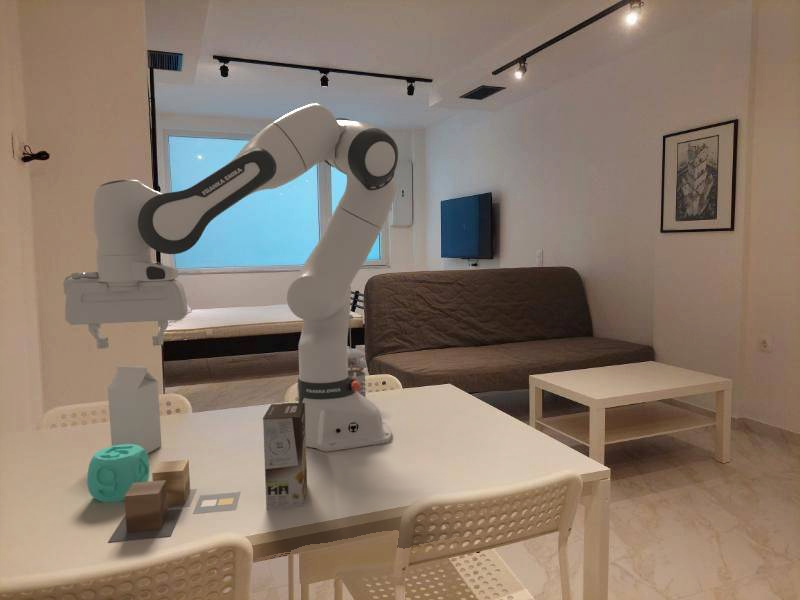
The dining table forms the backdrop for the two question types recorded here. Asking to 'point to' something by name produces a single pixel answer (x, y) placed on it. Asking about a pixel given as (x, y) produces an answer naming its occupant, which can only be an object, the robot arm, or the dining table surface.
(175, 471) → the oak block
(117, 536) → the felt pad
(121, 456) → the decorative dice
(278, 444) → the coffee box
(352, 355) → the french press
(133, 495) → the walnut block
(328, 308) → the robot arm
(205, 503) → the code tile
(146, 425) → the milk carton
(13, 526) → the dining table surface
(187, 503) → the code tile
